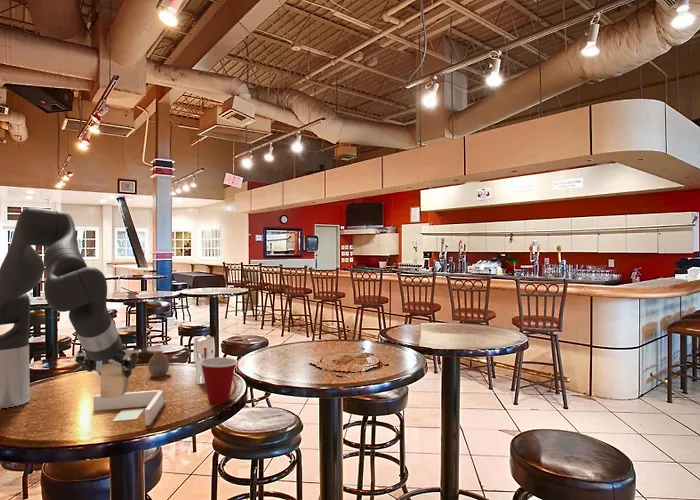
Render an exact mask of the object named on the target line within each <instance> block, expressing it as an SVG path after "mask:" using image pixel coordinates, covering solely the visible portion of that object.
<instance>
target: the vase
mask: <svg viewBox="0 0 700 500" xmlns="http://www.w3.org/2000/svg"><path fill="white" fill-rule="evenodd" d="M147 365H148V366H147V368H148V373H149V374H150V376H152V377H153V378H160V377H161V378H162V377H164V376H165V375H167V373H168V371H169V368H170V362H169V359H168V357H167V356H166V355H165V354H164V352H163V351H162V350H155V352H154V353H153V355H152V356H151V358H150V359H149V361H148V364H147Z"/></svg>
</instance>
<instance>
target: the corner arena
mask: <svg viewBox="0 0 700 500" xmlns="http://www.w3.org/2000/svg"><path fill="white" fill-rule="evenodd" d="M164 404H165V390H164V389H157V390H156V389H155V390H143V391H130V392H128V391H127V392H126V393H125V394H123V395H122V396H121V397H113V398H101V394H94V395H93V412H95V411H105V410H118V409H123V410H120V412H119V413H118V414H117V415H116V416H115V417H114V418H113V420H111V422H112V423H114V422H115V423H116V422H124V421H134V420H138V418H140V416H141V415H142V414H143V412H144V426H151V425H152V423H153V421H154V420H155V418H156V417H157V415H158V414H159V412H160V411H161V409H162V407H163V406H164ZM140 407H143V408H140ZM144 407H146V408H144ZM128 408H133V409H128ZM134 408H135V409H134Z"/></svg>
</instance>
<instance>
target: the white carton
mask: <svg viewBox="0 0 700 500" xmlns="http://www.w3.org/2000/svg"><path fill="white" fill-rule="evenodd" d="M192 352H193V359H194V365H195V370H196V372H195V373H196V374H195V376H196V377H195V384H196V385H201V386H202V385H205V380H204V374H203V369H202V365H201V364H200V361H201V360H204V359H208V358H215V355H216V346H215V337H214V336H210V335H209V336H206V335H205V336H198V337H195V338H193V351H192Z"/></svg>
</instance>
